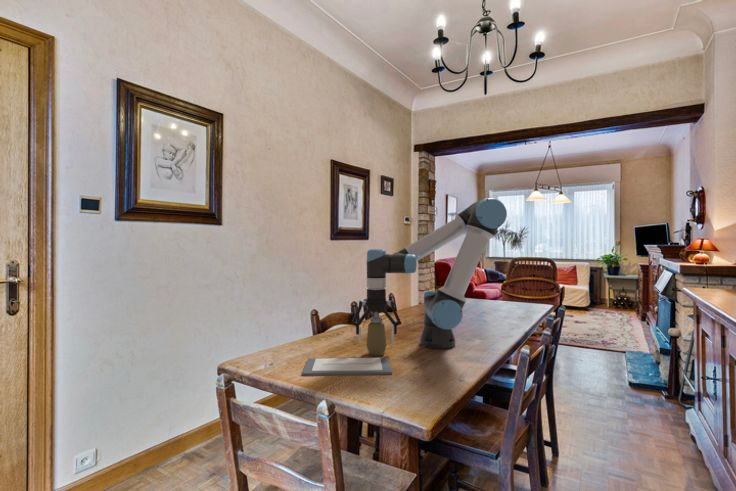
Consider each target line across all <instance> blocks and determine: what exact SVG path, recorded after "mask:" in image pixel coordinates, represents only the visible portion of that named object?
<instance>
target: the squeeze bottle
mask: <svg viewBox="0 0 736 491" xmlns="http://www.w3.org/2000/svg"><path fill="white" fill-rule="evenodd" d="M372 315H373V316H372V317H370V322H369V323H368V326H367V335H366V348H367V352H368V354H369V355H370V356H373V357H374V356H375V357H380V356H383V355H384V354H385V352H386V348H387V336H386V327H385V323H384V322H383V317H381V316H380V312H373V314H372Z"/></svg>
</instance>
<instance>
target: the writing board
mask: <svg viewBox="0 0 736 491" xmlns="http://www.w3.org/2000/svg"><path fill="white" fill-rule="evenodd" d="M392 373H393V371H392V368H391V365H390V360H389V357H388V356H387V357H385V356H383V357H380V356H375V357H374V356H373V357H317V358H316V357H312V358H311V357H309V358H307V360H306V363H305V366H304V368H303V370H302V373H301V375H302V376H308V377H309V376H362V375H363V376H365V375H366V376H372V375H380V376H381V375H384V376H385V375H392Z"/></svg>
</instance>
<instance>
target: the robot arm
mask: <svg viewBox="0 0 736 491" xmlns="http://www.w3.org/2000/svg"><path fill="white" fill-rule="evenodd" d="M507 211H508V210H507V208H506V206H505V204H504V203H503V202H502V201H501V200H499V199H497V198H492V197H485V198H483V199H481V200H478V201H475V202H473V203H471V204H470V205H469V206H468V207H466V208H465V209H464V210H462V211H461V212H459V213H457V214H455V216H454V218H453V219H452V220H449V222H448V221H447V223H445V224H443V225H442V226H440V227H438V228H436V229H435V230H432V231H431V232H430V233H428V234H426V235H425V236H423V237H421V238H419V239H417V240H416V241H414V242H412V243H411V244H409V245H407V246H405V247H404V248H402V249H400V250H399V251H398V252H394V253H393V254H390V253H389V254H388V253H387V252H386V249H379V248H378V249H377V248H375V249H374V248H373V249H372V248H371V249H368V250H367V251H366V287H367V289H366V300H360V299H359V301H358V307H357V309H356V311H355V314H354V316H353V318H352V320H351V325H352V326H355V335H357V336H358V343H359V344H362V326H361V324H362V323H363V322H364V320H365V319H366V318H367V317H368V315H369V314H370V312H372V313H374V312H379V313H381V312H382V313H383V315H385V316H386V318H387V319H388V320H389V321H390V323H391V335H390V336H391V339H390V340H391V344H395V335H397V334H398V326H400V325H402V321H401V319H400V316H399V314H398V312H397V309H396V307H395V302H394V300H387V290H386V287H387V284H386V283H387V280H386V279H387V276H386V274H407V275H408V274H415V273H416V272H417V262H418V261H419V260H421V259H423V258H425V257H426V256H427V257H428V255H430V254H431V253H433V252H436V251H437V250H439V249H440V248H442V247H444V246H445V245H447V244H449V243H451V242H453V241H454V240H456V239H457V238H459V237H461V236H463V235H465V237H464V239H463V241H462V243H461V246H460V248H459V250H458V253H457V255H456V257H455V260H454V262H453V264H452V267H451V269H450V271H449V273H448V275H447V278H446V280H445V282H444V285H443V286H442V287H440V288H438V289H437V290H436V291H435V290H431V291H430V290H427V291H424V293H423V328H422V331H421V333H420V337H419V345H421V346H422V347H424V348H429V349H437V350H439V349H440V350H441V349H442V350H444V349H445V350H446V349H450V348H454V347H455V346H456V338H455V334H454V332H453V329H455V328H456V327H458V326H459V324H461V322H462V319H463V317H464V316H463V315H464V313H463V310H464V309H463V308H464V307H465V304H466V301H467V300H466V298H465V294H466V292H467V289H468V287H469V285H470V282H471V280H472V278H473V276H474V274H475V272H476V269H477V267H478V264H479V262H480V259H482V255H483V252H484V251H485V249H486V246H487V244H488V242H489V240H491V239H494V238H495V237H496V234H497V231H498V229H499V228H500V227H501V226H502V225H504V223H505V222H506V220H507V217H508V216H507V215H508V212H507ZM387 305H388V307H390V308H391V310H392V313H393V315H394V317H395V319H396V321H395V320H394V318H393V317H392V316H391V314H390V313H389V312H388V311H387V309H386V306H387ZM365 306H366V307H367V308H366V310H365V311H364V312H363V314H362V315H361V316H360V318H358V317H359V314H360V313H361V311H362V308H363V307H365ZM357 319H358V321H357Z"/></svg>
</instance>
